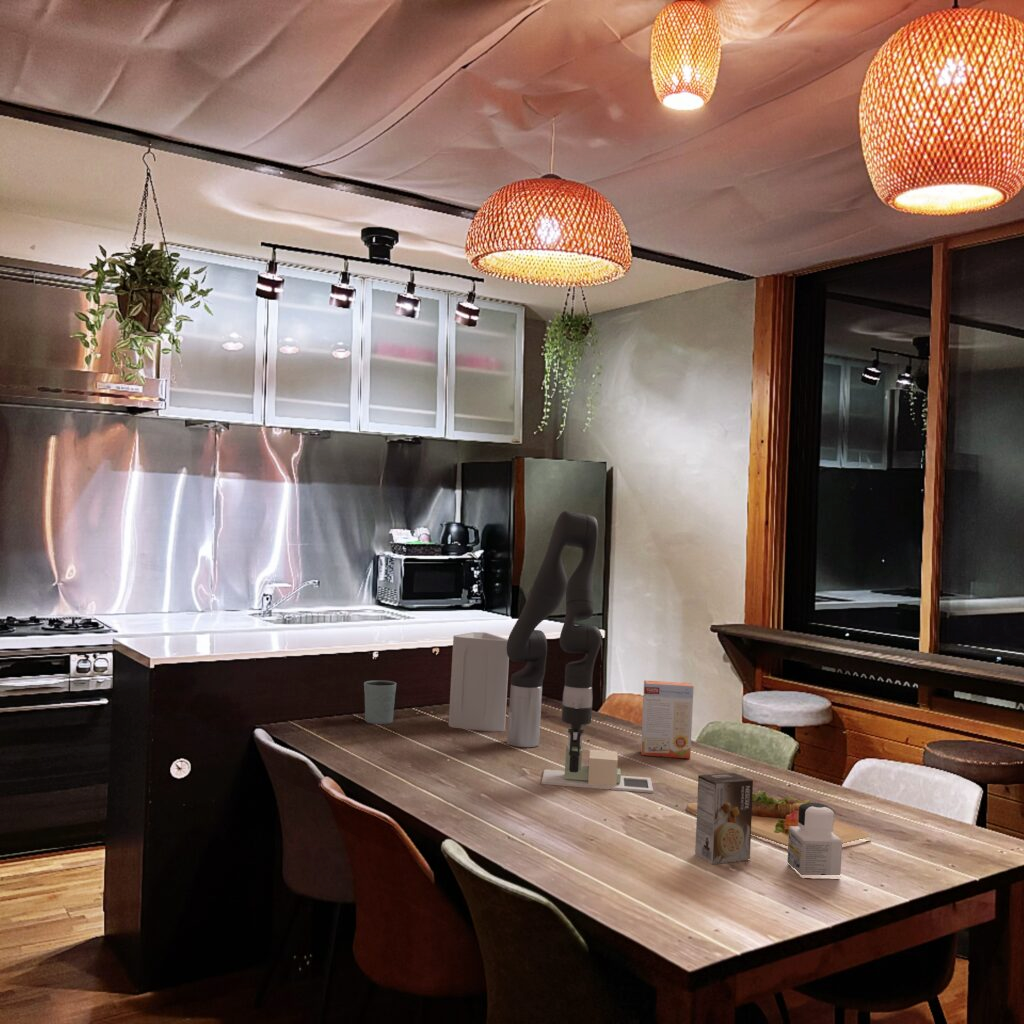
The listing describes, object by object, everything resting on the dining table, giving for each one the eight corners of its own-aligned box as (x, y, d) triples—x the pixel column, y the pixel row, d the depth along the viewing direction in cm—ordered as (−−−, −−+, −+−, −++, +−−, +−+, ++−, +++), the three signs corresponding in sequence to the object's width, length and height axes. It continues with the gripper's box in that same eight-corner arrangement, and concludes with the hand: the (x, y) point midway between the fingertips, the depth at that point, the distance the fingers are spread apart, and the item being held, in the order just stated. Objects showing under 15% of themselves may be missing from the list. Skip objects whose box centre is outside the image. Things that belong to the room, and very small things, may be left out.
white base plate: (541, 783, 239) (543, 755, 239) (544, 771, 251) (545, 744, 251) (653, 793, 236) (654, 764, 236) (650, 780, 248) (652, 753, 248)
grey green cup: (391, 725, 295) (394, 686, 296) (359, 723, 296) (361, 684, 296) (396, 718, 306) (398, 680, 306) (364, 716, 306) (366, 679, 306)
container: (786, 864, 190) (790, 799, 190) (824, 865, 191) (827, 800, 191) (801, 879, 182) (805, 811, 182) (841, 880, 183) (844, 812, 183)
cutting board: (874, 843, 209) (876, 808, 209) (806, 860, 195) (808, 823, 195) (749, 799, 237) (750, 769, 237) (681, 812, 224) (683, 779, 224)
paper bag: (438, 719, 307) (443, 632, 307) (480, 718, 314) (485, 632, 314) (461, 733, 290) (466, 640, 290) (505, 730, 296) (510, 640, 297)
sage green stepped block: (564, 778, 241) (565, 750, 241) (565, 772, 247) (566, 744, 247) (620, 783, 240) (621, 754, 240) (619, 777, 246) (621, 749, 246)
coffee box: (731, 850, 197) (735, 771, 197) (750, 861, 191) (754, 780, 191) (693, 854, 193) (697, 774, 193) (712, 865, 187) (716, 783, 187)
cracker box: (688, 754, 279) (692, 682, 279) (690, 759, 273) (694, 686, 273) (640, 750, 280) (643, 679, 280) (640, 755, 274) (644, 682, 274)
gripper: (563, 698, 251) (560, 760, 251) (561, 707, 237) (558, 773, 237) (592, 699, 251) (589, 762, 250) (591, 710, 237) (588, 776, 236)
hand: (574, 767), depth 244 cm, fingers open, 8 cm apart
